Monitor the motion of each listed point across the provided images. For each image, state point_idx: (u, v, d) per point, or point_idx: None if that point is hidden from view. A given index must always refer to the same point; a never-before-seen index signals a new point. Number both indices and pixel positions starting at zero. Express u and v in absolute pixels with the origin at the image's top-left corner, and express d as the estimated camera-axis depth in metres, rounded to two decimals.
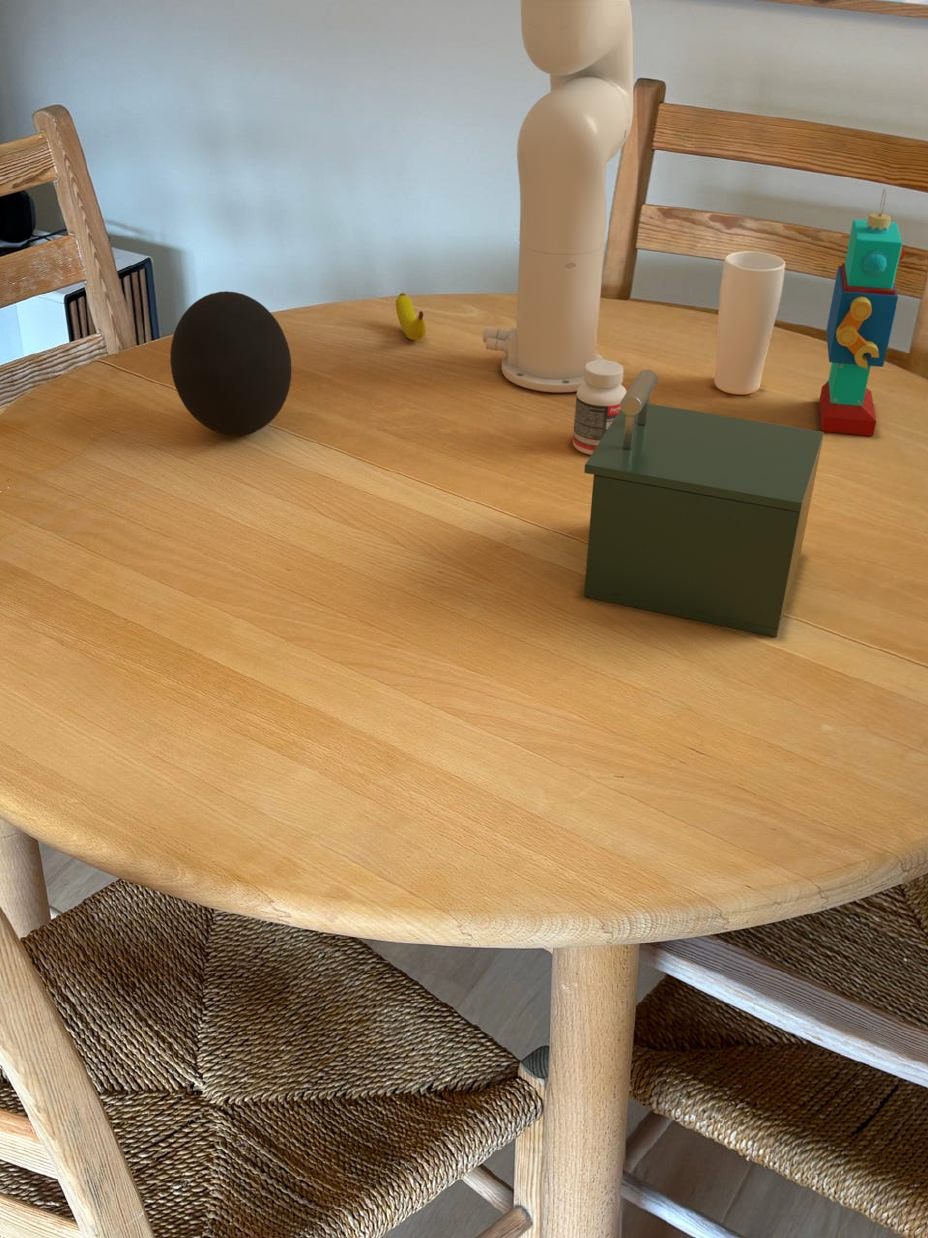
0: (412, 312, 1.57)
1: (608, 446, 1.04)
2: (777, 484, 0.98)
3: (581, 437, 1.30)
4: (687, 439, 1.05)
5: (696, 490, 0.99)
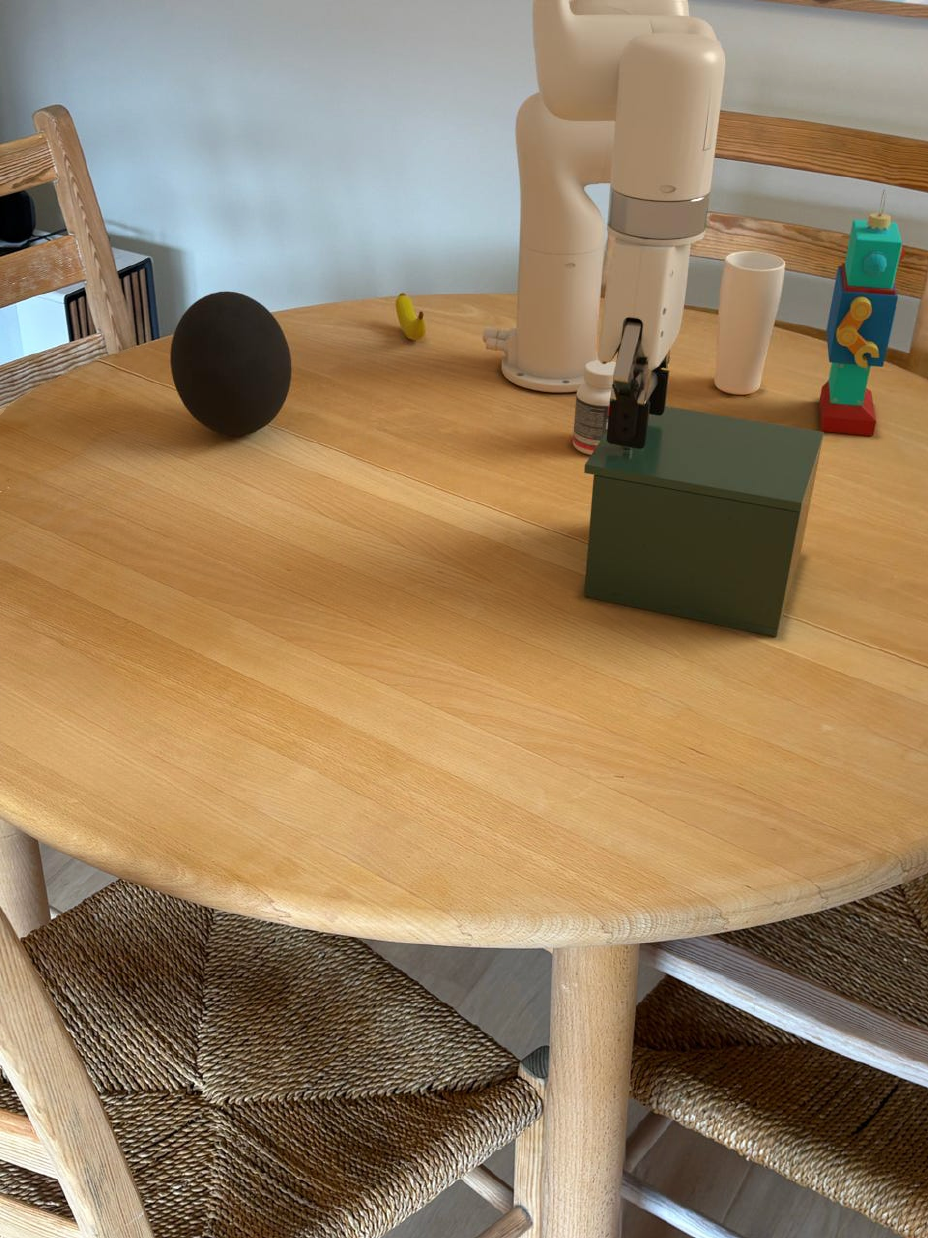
0: (412, 312, 1.57)
1: (608, 446, 1.04)
2: (777, 484, 0.98)
3: (581, 437, 1.30)
4: (687, 439, 1.05)
5: (696, 490, 0.99)
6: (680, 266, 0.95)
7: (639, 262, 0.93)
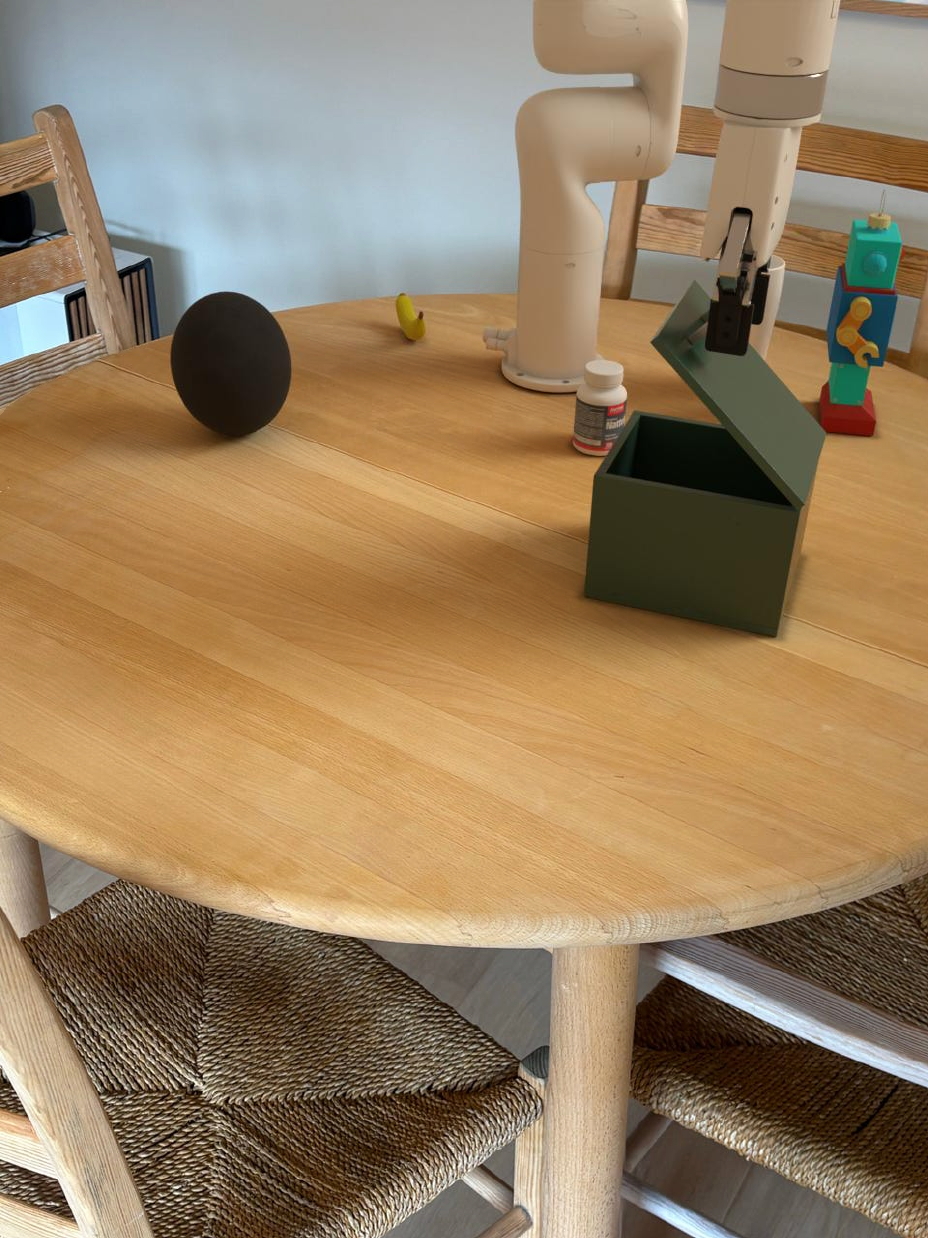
0: (412, 312, 1.57)
1: (677, 327, 0.96)
2: (791, 470, 0.97)
3: (581, 437, 1.30)
4: (734, 366, 1.00)
5: (731, 430, 0.95)
6: (793, 152, 0.88)
7: (751, 145, 0.86)
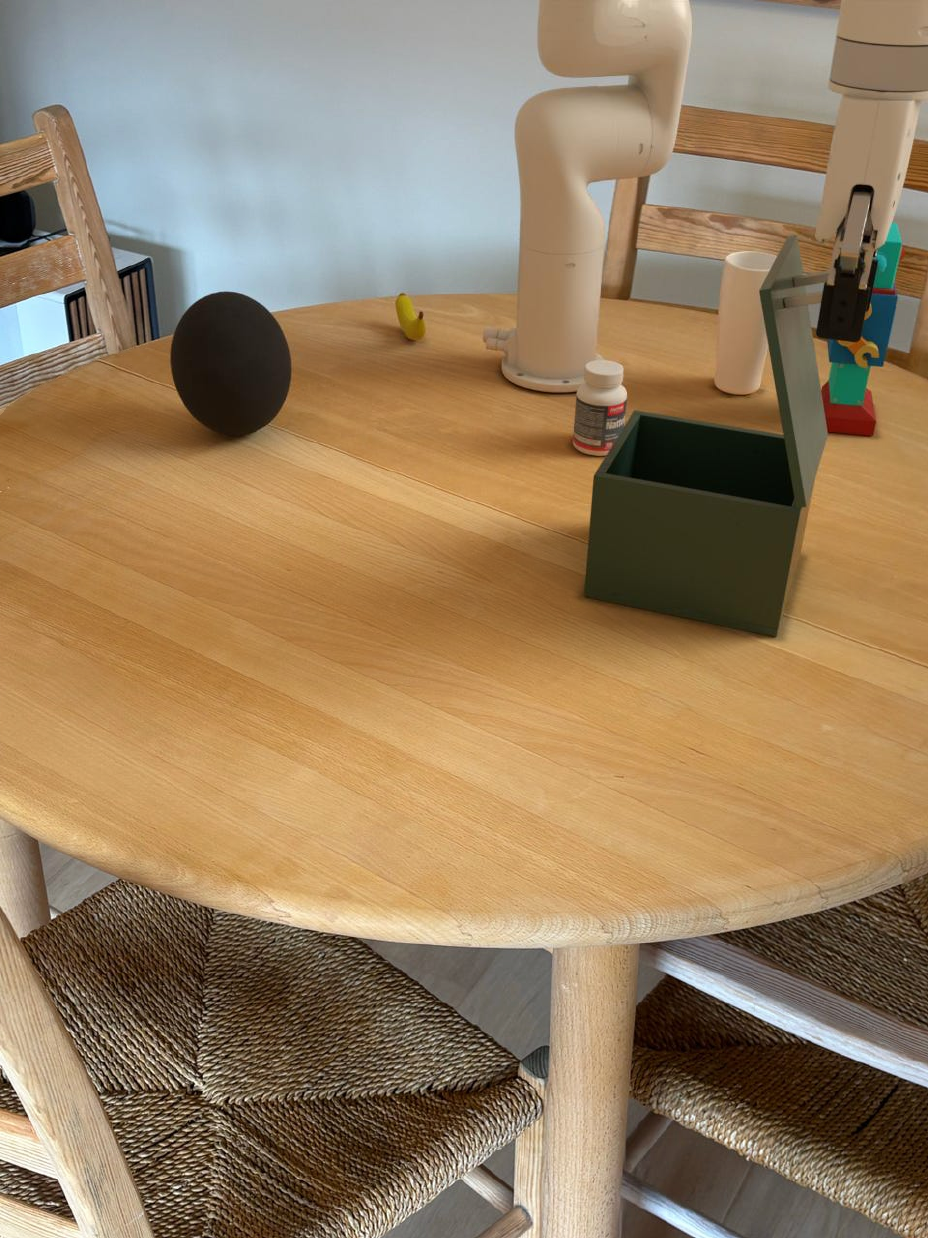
0: (412, 312, 1.57)
1: (780, 284, 0.92)
2: (806, 467, 0.97)
3: (581, 437, 1.30)
4: (799, 342, 0.97)
5: (783, 409, 0.93)
6: (914, 127, 0.85)
7: (875, 119, 0.82)
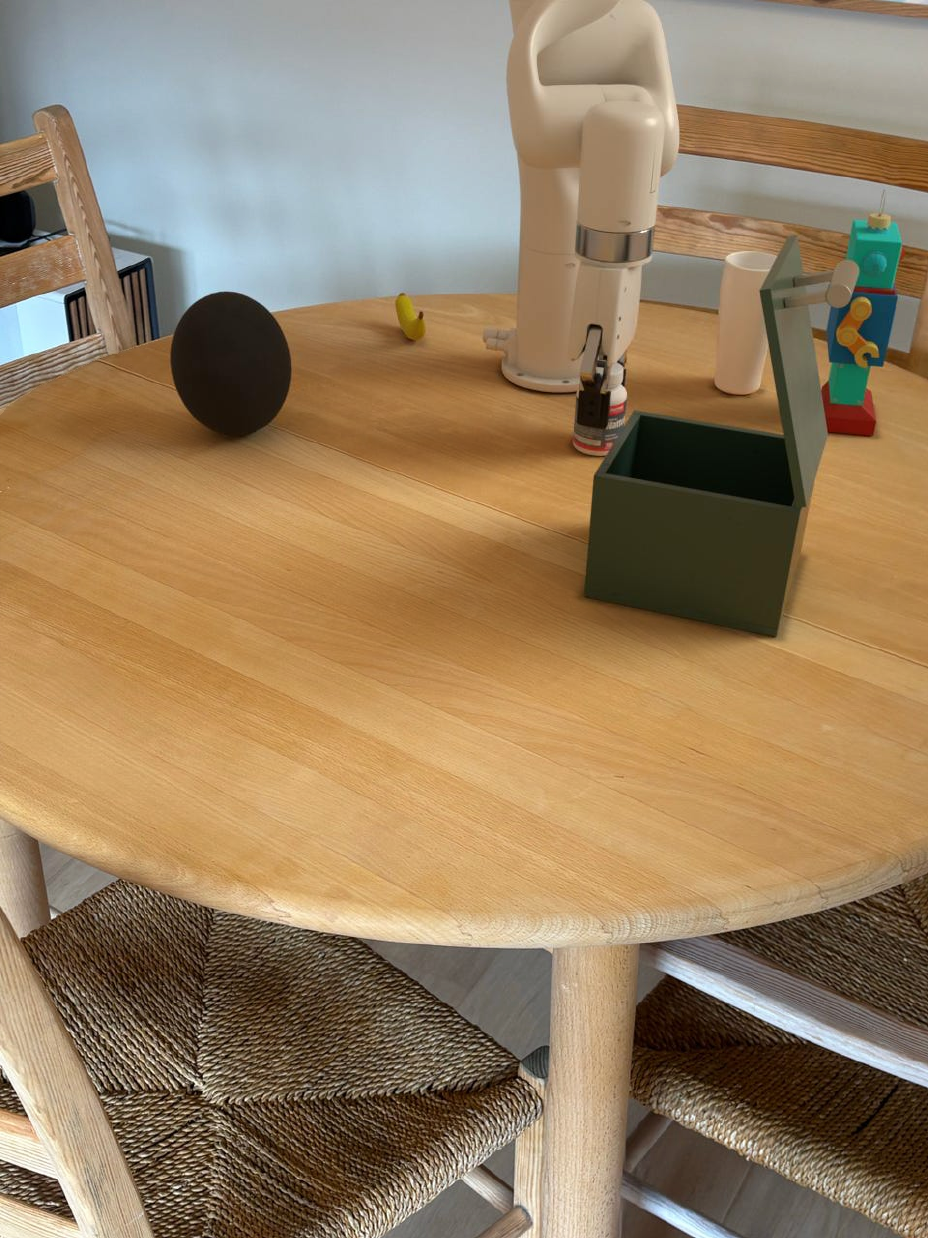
0: (412, 312, 1.57)
1: (780, 284, 0.92)
2: (806, 467, 0.97)
3: (582, 437, 1.30)
4: (799, 342, 0.97)
5: (783, 409, 0.93)
6: (632, 283, 1.20)
7: (599, 281, 1.18)
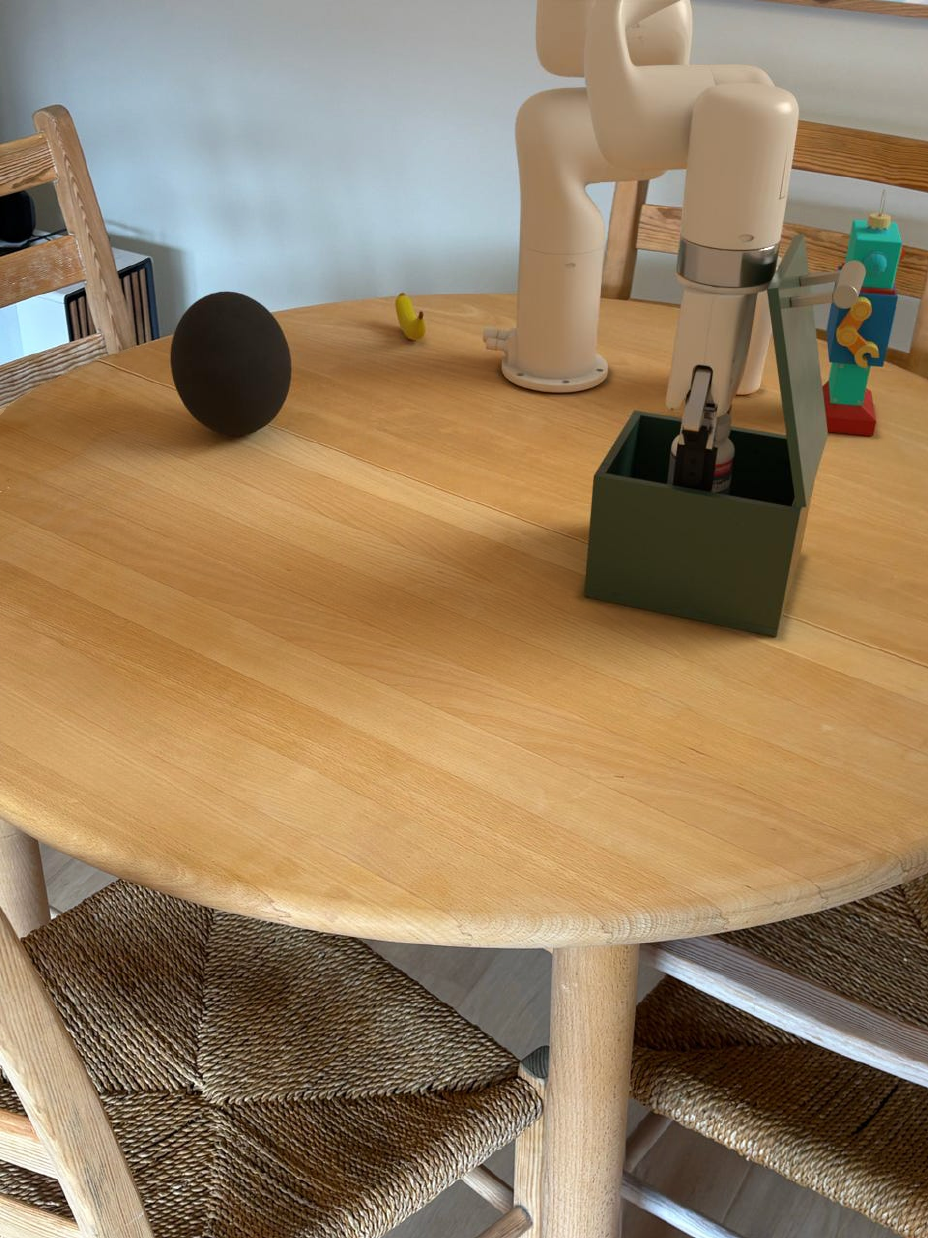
0: (412, 312, 1.57)
1: (787, 283, 0.91)
2: (807, 467, 0.97)
3: None
4: (804, 341, 0.97)
5: (786, 409, 0.92)
6: (750, 313, 0.95)
7: (710, 311, 0.93)
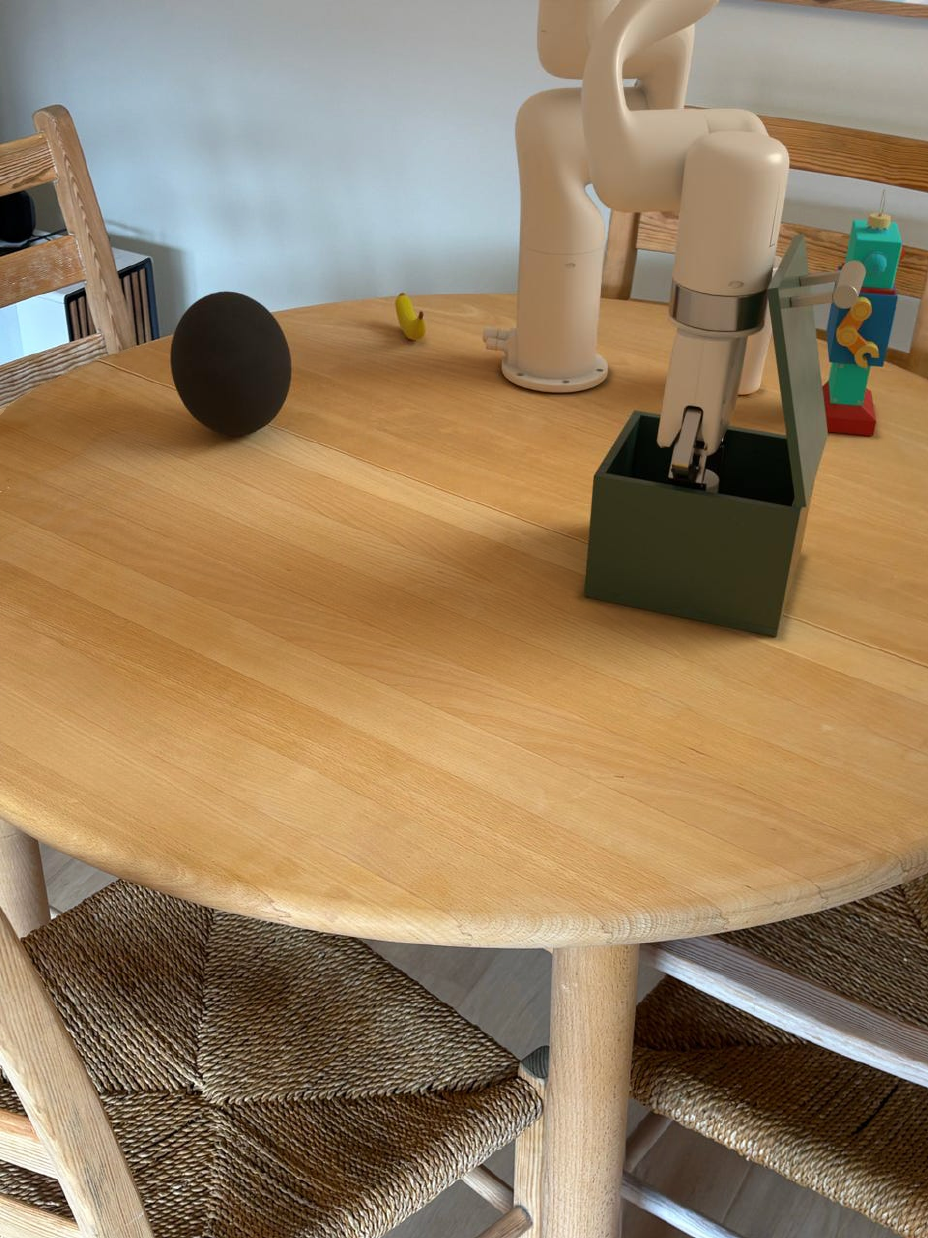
0: (412, 312, 1.57)
1: (787, 283, 0.91)
2: (807, 467, 0.97)
3: None
4: (804, 341, 0.97)
5: (786, 409, 0.92)
6: (740, 355, 0.97)
7: (701, 354, 0.95)
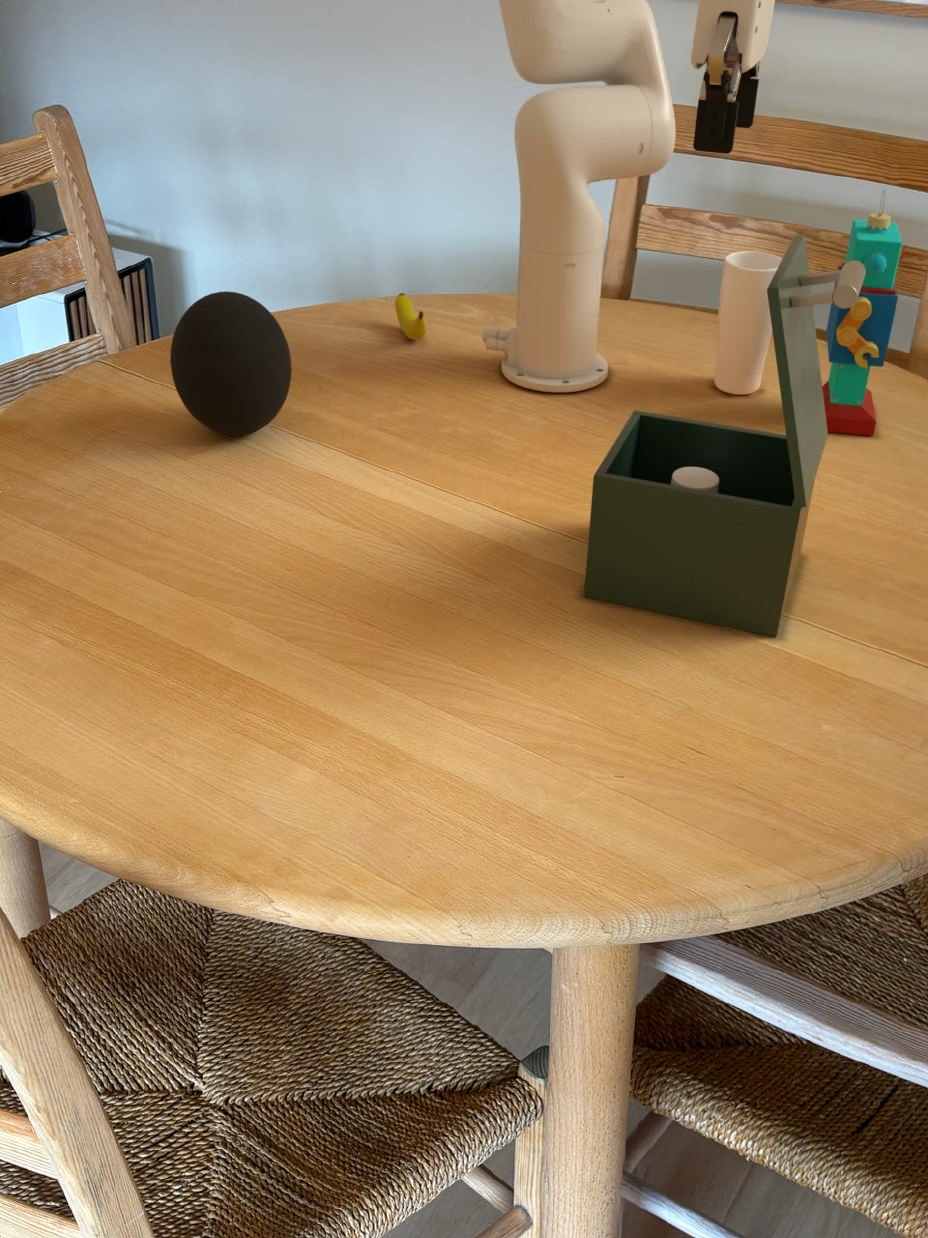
0: (412, 312, 1.57)
1: (787, 283, 0.91)
2: (807, 467, 0.97)
3: None
4: (804, 341, 0.97)
5: (786, 409, 0.92)
6: None
7: None
